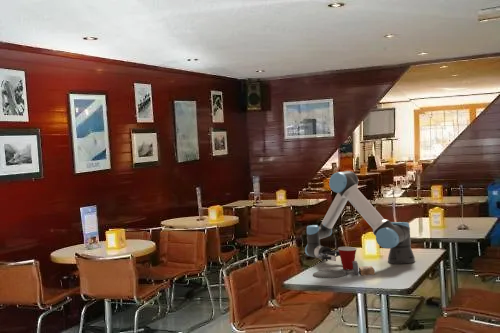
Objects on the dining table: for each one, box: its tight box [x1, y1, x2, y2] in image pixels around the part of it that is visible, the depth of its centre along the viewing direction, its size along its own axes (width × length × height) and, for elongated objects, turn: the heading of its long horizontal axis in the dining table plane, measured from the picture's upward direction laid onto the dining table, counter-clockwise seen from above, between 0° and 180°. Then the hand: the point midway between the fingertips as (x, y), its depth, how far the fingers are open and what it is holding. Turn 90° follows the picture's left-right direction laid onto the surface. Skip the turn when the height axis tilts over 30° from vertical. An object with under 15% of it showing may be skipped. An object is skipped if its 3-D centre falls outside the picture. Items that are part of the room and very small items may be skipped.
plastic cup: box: [337, 246, 358, 271], centre depth 315 cm, size 11×11×12 cm
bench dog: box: [352, 260, 359, 276], centre depth 302 cm, size 2×8×6 cm, turn 173°
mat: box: [312, 269, 347, 279], centre depth 304 cm, size 18×18×1 cm
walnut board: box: [358, 265, 376, 276], centre depth 302 cm, size 7×10×3 cm
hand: (345, 257), depth 318 cm, fingers open, 13 cm apart
